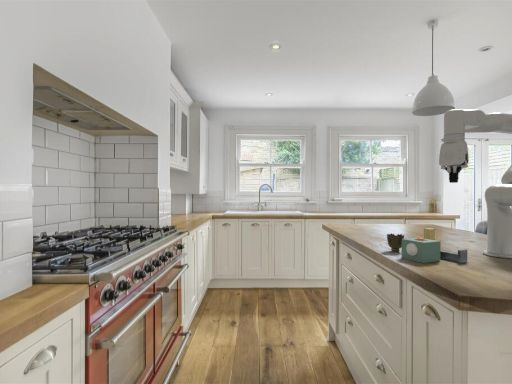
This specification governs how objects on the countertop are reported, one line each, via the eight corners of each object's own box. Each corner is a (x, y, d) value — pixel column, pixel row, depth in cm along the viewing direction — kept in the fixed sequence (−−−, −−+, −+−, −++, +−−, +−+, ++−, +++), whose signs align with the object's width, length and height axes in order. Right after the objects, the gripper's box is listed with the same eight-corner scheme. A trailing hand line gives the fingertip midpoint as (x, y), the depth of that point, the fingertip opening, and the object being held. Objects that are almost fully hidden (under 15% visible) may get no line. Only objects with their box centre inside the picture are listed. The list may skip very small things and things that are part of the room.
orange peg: (419, 255, 125) (419, 237, 125) (426, 257, 122) (426, 238, 122) (414, 256, 124) (414, 238, 124) (421, 257, 121) (421, 239, 121)
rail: (423, 253, 136) (423, 242, 136) (467, 262, 119) (467, 249, 119) (416, 253, 134) (416, 242, 134) (460, 263, 117) (460, 250, 117)
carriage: (427, 252, 135) (427, 227, 135) (440, 255, 130) (440, 229, 130) (418, 253, 133) (418, 228, 133) (430, 256, 127) (431, 229, 127)
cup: (405, 251, 140) (405, 234, 140) (403, 253, 134) (403, 236, 134) (387, 249, 144) (388, 232, 144) (385, 251, 138) (385, 234, 138)
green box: (418, 256, 130) (418, 237, 130) (440, 260, 120) (440, 241, 120) (400, 257, 125) (401, 238, 125) (422, 263, 116) (422, 242, 116)
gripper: (431, 141, 132) (431, 182, 132) (467, 135, 118) (466, 181, 118) (442, 142, 135) (442, 183, 135) (478, 137, 121) (478, 182, 121)
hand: (453, 182), depth 127 cm, fingers closed
